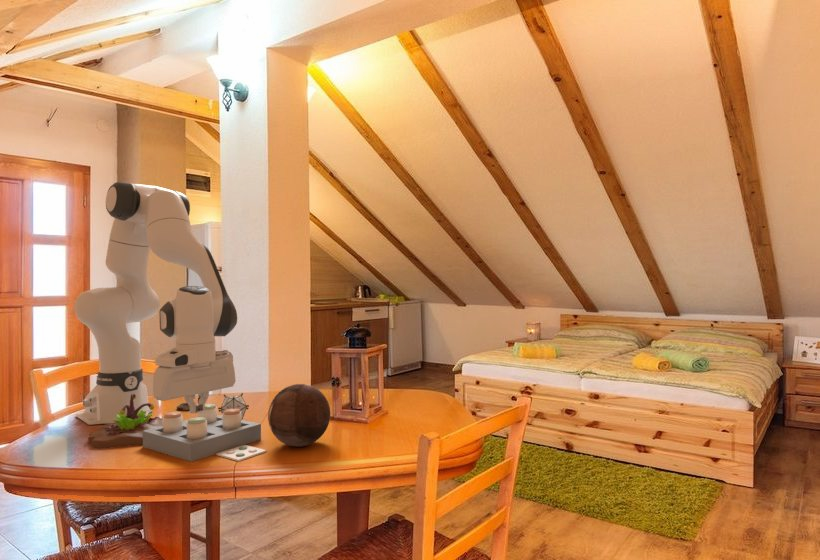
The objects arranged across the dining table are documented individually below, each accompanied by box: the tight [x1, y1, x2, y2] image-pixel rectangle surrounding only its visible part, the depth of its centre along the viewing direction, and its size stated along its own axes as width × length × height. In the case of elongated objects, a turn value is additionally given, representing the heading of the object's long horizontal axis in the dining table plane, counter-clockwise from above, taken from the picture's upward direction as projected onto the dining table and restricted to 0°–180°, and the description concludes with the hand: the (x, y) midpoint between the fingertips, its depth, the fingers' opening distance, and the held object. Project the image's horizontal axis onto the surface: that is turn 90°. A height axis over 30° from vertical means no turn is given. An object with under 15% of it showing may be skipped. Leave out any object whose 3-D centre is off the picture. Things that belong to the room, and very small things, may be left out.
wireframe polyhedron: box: [217, 392, 250, 420], centre depth 159 cm, size 9×8×10 cm
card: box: [216, 444, 267, 462], centre depth 131 cm, size 8×8×1 cm
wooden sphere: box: [267, 383, 331, 448], centre depth 137 cm, size 15×15×15 cm
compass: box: [176, 394, 201, 411], centre depth 176 cm, size 8×8×7 cm
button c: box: [186, 416, 207, 441], centre depth 133 cm, size 5×5×6 cm
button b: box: [198, 403, 218, 424], centre depth 147 cm, size 5×5×6 cm
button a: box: [162, 411, 184, 434], centre depth 139 cm, size 5×5×6 cm
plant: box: [87, 394, 163, 449], centre depth 147 cm, size 20×20×11 cm
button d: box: [221, 409, 242, 430], centre depth 141 cm, size 5×5×6 cm
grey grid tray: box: [142, 414, 262, 462], centre depth 140 cm, size 20×20×4 cm
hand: (197, 412), depth 133 cm, fingers closed
